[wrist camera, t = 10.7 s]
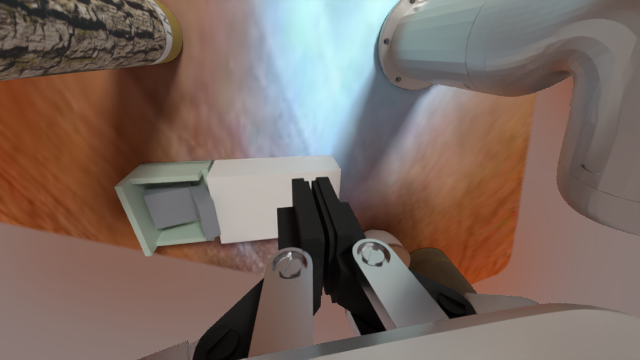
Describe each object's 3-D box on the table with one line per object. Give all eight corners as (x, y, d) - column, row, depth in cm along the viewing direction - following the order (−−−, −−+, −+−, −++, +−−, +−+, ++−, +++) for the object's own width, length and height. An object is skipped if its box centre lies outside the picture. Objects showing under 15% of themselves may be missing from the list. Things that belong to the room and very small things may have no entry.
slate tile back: (143, 196, 32) (144, 189, 34) (156, 229, 35) (157, 221, 37) (191, 187, 35) (190, 181, 36) (200, 218, 38) (199, 212, 39)
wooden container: (385, 289, 62) (436, 394, 43) (400, 248, 55) (467, 351, 36) (433, 284, 65) (500, 379, 46) (453, 245, 58) (541, 338, 39)
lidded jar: (345, 259, 53) (358, 296, 45) (349, 223, 48) (365, 257, 40) (388, 254, 55) (408, 288, 47) (397, 218, 50) (421, 250, 42)
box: (211, 160, 36) (200, 181, 30) (224, 220, 42) (217, 248, 36) (141, 163, 35) (113, 186, 29) (164, 226, 40) (145, 256, 34)
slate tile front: (213, 201, 32) (197, 206, 30) (221, 234, 34) (206, 240, 33) (203, 183, 36) (188, 186, 35) (210, 214, 39) (197, 218, 38)
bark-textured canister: (168, 75, 30) (-85, 133, 9) (109, 34, 27) (-507, -33, 6) (195, 29, 28) (-42, -44, 7) (134, -21, 25) (-622, -423, 4)
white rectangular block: (332, 154, 40) (341, 170, 35) (328, 211, 46) (336, 231, 41) (215, 160, 37) (206, 177, 31) (227, 220, 42) (221, 243, 37)
